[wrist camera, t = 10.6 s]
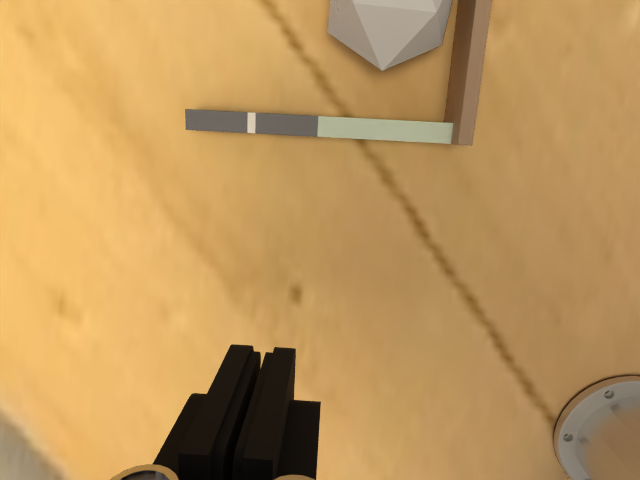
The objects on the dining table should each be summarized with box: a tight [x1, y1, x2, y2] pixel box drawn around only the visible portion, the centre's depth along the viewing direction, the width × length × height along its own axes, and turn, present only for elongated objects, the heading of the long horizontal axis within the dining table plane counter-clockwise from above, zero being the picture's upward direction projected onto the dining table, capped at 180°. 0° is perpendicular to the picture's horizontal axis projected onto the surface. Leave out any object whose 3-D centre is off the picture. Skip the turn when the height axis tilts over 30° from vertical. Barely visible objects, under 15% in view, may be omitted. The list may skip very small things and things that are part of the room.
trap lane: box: [185, 0, 492, 146], centre depth 32 cm, size 21×16×5 cm
